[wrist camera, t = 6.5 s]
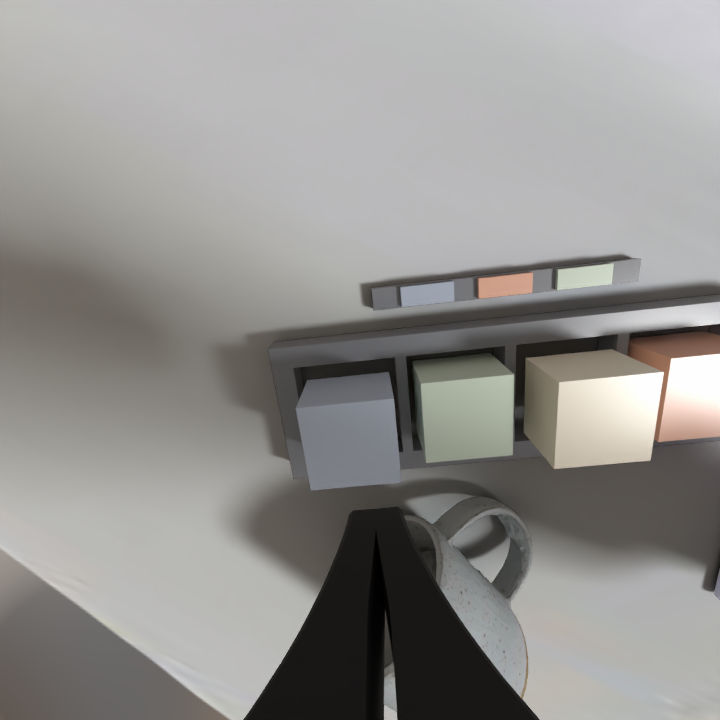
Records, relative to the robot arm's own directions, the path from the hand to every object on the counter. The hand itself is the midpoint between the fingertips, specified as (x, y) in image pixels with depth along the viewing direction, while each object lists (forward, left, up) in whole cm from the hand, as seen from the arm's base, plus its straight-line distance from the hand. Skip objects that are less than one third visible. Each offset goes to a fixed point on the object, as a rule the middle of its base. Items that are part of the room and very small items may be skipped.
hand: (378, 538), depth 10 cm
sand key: (-9, 0, -8) cm, 12 cm away
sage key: (-4, 0, -9) cm, 10 cm away
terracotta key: (-14, 0, -9) cm, 17 cm away
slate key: (+1, 0, -8) cm, 8 cm away
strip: (-7, -5, -10) cm, 13 cm away
